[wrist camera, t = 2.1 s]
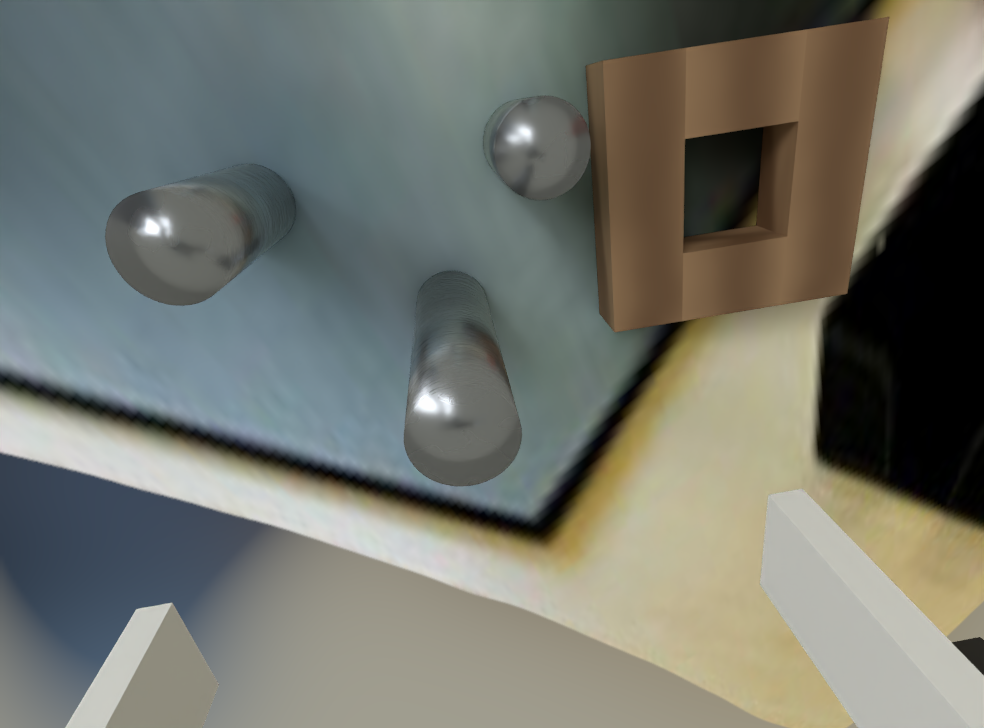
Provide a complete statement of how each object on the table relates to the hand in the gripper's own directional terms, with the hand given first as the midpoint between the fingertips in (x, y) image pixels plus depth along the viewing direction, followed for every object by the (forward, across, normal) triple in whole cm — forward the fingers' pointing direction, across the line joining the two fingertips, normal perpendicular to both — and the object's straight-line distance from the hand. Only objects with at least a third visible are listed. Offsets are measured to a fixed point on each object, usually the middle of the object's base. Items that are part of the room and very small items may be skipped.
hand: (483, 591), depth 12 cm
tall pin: (+21, 0, 0) cm, 21 cm away
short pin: (+21, +5, +8) cm, 23 cm away
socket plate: (+21, +15, +4) cm, 26 cm away
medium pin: (+21, -9, +7) cm, 24 cm away
